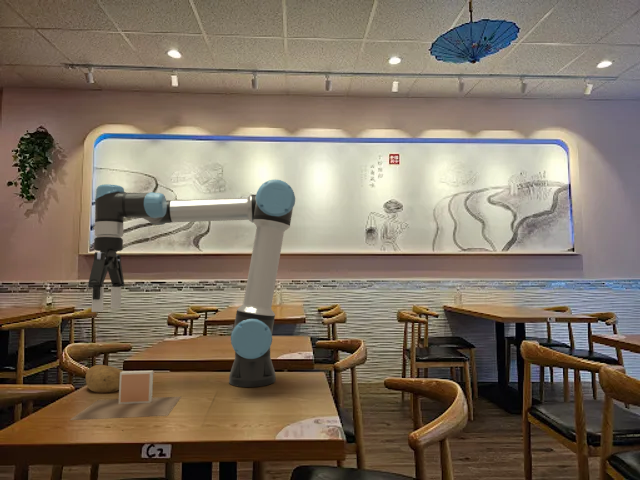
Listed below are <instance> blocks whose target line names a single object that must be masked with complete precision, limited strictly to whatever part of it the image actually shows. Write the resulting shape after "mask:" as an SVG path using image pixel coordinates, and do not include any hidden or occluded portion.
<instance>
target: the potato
mask: <svg viewBox="0 0 640 480" xmlns="http://www.w3.org/2000/svg"><path fill="white" fill-rule="evenodd" d="M123 371H124V370H121V369H120V368H118V367H115V366H109V365H106V364H105V365H104V364H96V365H93V366H91V367H90V368H89V369H88V370H87V371H86V374H85V384H86V386H87V389H88V390H90V391H91V392H94V393H101V394H102V393H107V394H108V393H115V392H117V391H119V383H120V372H123Z"/></svg>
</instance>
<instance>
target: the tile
mask: <svg viewBox="0 0 640 480" xmlns="http://www.w3.org/2000/svg"><path fill="white" fill-rule="evenodd" d="M122 371H123V372H120V383H119V390H118V399H119V404H132V403H151V402H152V398H153V385H154V384H153V381H154V370H133V371H132V370H131V371H130V370H129V371H125V370H122Z"/></svg>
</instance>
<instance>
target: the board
mask: <svg viewBox="0 0 640 480" xmlns="http://www.w3.org/2000/svg"><path fill="white" fill-rule="evenodd" d="M181 398H182V396H165V397H164V396H163V397H152V402H151V403H132V404H119V398H112V399H110V398H109V399H108V398H107V399H97V400H95V401H94V402H92V403H91V404H90V405H88V406H87V407H86V408H84V409H83V410H82V411H79V412H78V413H77V414H76V415H74V416H73V417H71V418H70V419H69V421H79V420H80V421H81V420H83V421H84V420H100V419H102V420H103V419H105V420H107V419H121V418H122V419H126V418H144V417H145V418H146V417H147V418H148V417H167V416H169V415H170V413H171V412H172V410H173V409H174V407H175V406H176V405H177V403H178V402H179V401H180V399H181Z"/></svg>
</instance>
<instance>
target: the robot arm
mask: <svg viewBox="0 0 640 480" xmlns="http://www.w3.org/2000/svg"><path fill="white" fill-rule="evenodd" d="M295 203H296V195H295V192H294V190H293V188H292V187H291V185H290V184H289V183H287V182H286V181H283V180H281V179H269V180H267V181H265V182H264V183H262V184H261V185H260V186H259V188H258V189H257V191H256V194H255V193H254V194H249V195H248V196H247V197H233V198H231V197H230V198H229V197H228V198H227V197H226V198H203V199H202V198H198V199H197V198H196V199H195V198H194V199H176V200H175V199H172V200H169V199H168V200H167V198H166V196H165V195H164V193H162V192H154V191H150V192H125V188H124V187H123V186H121V185H117V184H109V183H108V184H100V185H98V186H96V191H95V198H94V207H95V208H94V209H95V211H94V213H95V214H94V226H93V230H94V236H95V238H94V240H93V241H94V242H93V243H94V244H93V250H94V251H95V252H94V258H93V262H92V266H91V271H90V275H89V278H88V283H87V284H88V286H87V287H88V288H89V289H91V312H92V313H97V312H98V313H99V312H100V313H101V312H102V313H103V312H104V295H105V294H104V293H105V292H104V290H105V289H104V287H103V286H104V282H105V280H106V277H107V274H108V275H109V279H110V281H111V287H110V309H121V307H122V305H121V303H122V302H121V301H122V288H123V287H125V280H124V275H123V274H124V273H123V268H122V267H123V266H122V256H121V254H117V252H121V251H123V249H124V245H123V244H124V239H123V238H122V237H124V220H125V219H124V218H136V219H138V218H140V219H141V218H142V219H144V220H145V221H147V222H149V223H150V224H152V225H158V226H160V225H161V226H162V225H165V224H171V223H173V224H174V223H193V222H194V223H195V222H199V223H200V222H218V221H219V222H221V221H223V222H225V221H226V222H227V221H249V222H250V223H251V224H252V223H254V226H255V227H256V228H255V236H254V241H253V247H252V252H251V253H252V254H251V258H250V262H249V263H250V264H249V268H248V275H247V279H246V285H245V291H244V297H243V303H242V305H240V306H239V307H238V308H237V309H236V313H235V318H234V325H233V326H234V327H233V329H232V331H231V334H230V343H231V346H232V349H233V351H234V361H233V363H232V366H231V369H230V373H229V377H228V380H229V381H228V383H229V384H230V385H232V386H235V387H241V388H257V387H263V386H269V385H271V384H274V383H275V382H276V371H275V368H274V365H273V361H272V357H271V346H272V343H273V330H274V323H275V317H276V314H275V312H274V311H273V309H272V306H273V300H274V294H275V290H276V289H275V287H276V283H277V277H278V271H279V270H278V269H279V263H280V258H281V251H282V245H283V242H284V241H283V240H284V234H285V232H286V231H287V230H288V229H290V227H291V222H292V216H293V210H294V207H295Z"/></svg>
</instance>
